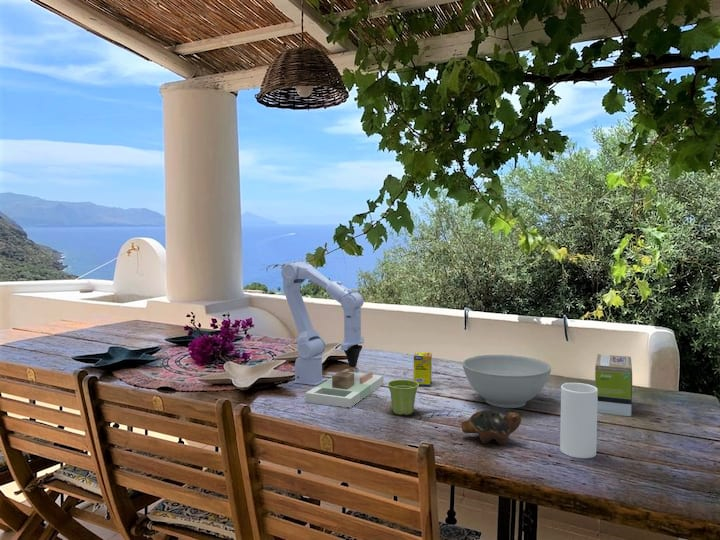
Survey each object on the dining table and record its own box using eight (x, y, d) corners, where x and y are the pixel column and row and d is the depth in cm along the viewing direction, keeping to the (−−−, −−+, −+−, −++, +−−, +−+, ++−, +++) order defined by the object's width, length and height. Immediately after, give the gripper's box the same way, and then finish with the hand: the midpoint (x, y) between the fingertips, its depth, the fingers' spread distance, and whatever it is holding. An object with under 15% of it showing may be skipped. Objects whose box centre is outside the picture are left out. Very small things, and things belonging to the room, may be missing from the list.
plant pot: (401, 404, 166) (401, 377, 166) (425, 411, 160) (425, 383, 159) (381, 412, 160) (380, 383, 159) (404, 419, 153) (404, 390, 153)
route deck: (305, 402, 170) (305, 386, 170) (342, 379, 195) (342, 366, 195) (350, 408, 163) (350, 392, 163) (383, 384, 189) (383, 370, 189)
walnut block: (332, 387, 175) (332, 375, 175) (339, 383, 180) (339, 371, 180) (347, 389, 173) (347, 377, 173) (354, 384, 178) (354, 373, 178)
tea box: (596, 398, 171) (597, 352, 170) (630, 402, 167) (632, 355, 166) (593, 412, 158) (595, 363, 157) (631, 417, 153) (633, 367, 152)
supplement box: (430, 387, 185) (430, 356, 184) (413, 386, 186) (413, 355, 185) (431, 382, 191) (431, 352, 190) (415, 381, 192) (415, 351, 191)
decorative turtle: (524, 449, 132) (522, 418, 131) (462, 449, 134) (460, 419, 134) (519, 432, 141) (518, 403, 140) (461, 433, 144) (459, 404, 143)
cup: (554, 445, 134) (555, 383, 133) (585, 443, 135) (586, 382, 133) (569, 459, 126) (571, 393, 125) (603, 457, 126) (604, 391, 125)
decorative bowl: (564, 400, 169) (565, 363, 168) (526, 423, 149) (526, 381, 148) (488, 384, 187) (489, 350, 186) (446, 403, 168) (446, 365, 167)
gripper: (354, 332, 175) (354, 372, 176) (371, 325, 188) (371, 362, 189) (335, 330, 178) (335, 370, 179) (353, 323, 191) (353, 360, 192)
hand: (352, 366), depth 184 cm, fingers closed
